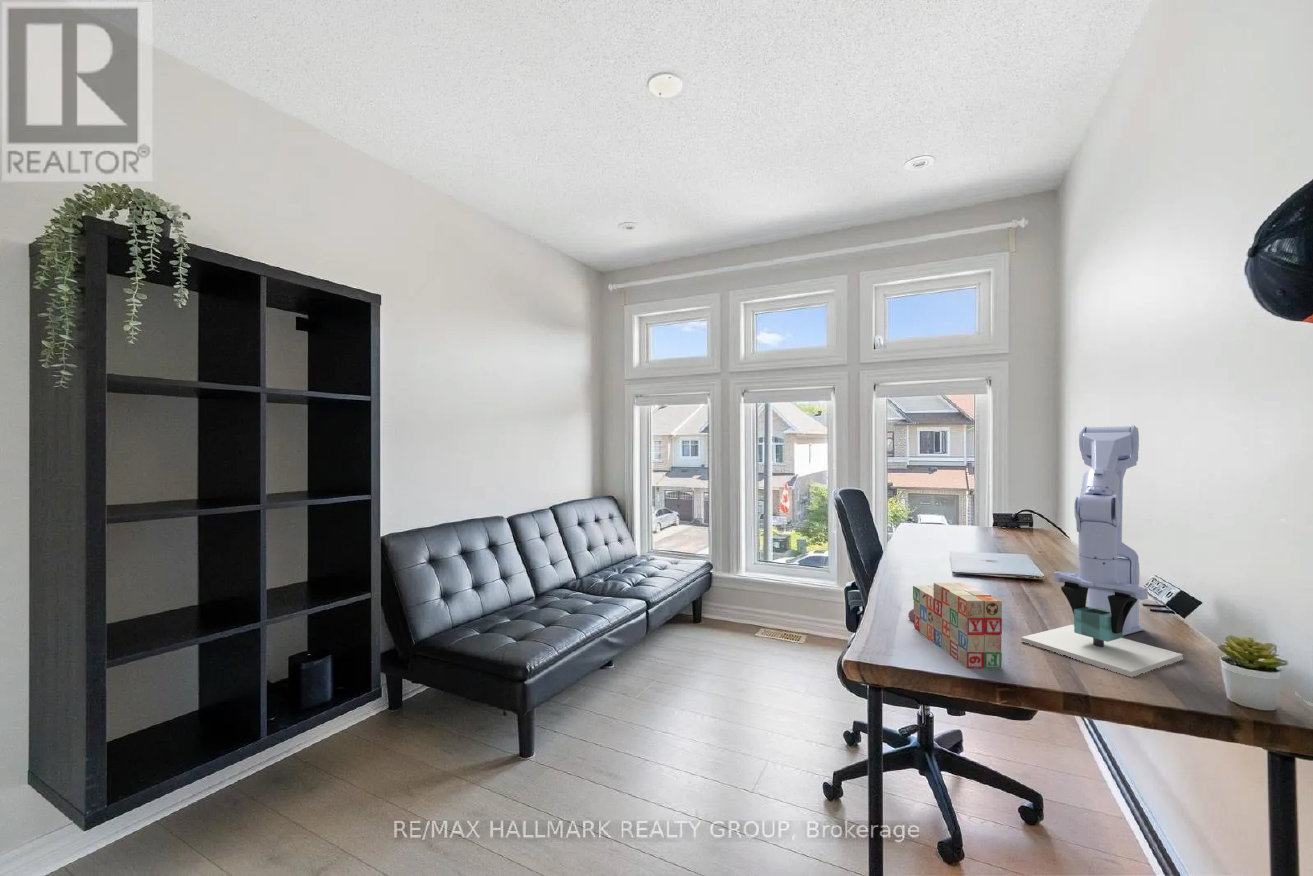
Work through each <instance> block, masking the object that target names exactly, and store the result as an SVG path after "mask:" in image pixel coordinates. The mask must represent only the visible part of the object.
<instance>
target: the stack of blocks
mask: <svg viewBox="0 0 1313 876" xmlns="http://www.w3.org/2000/svg"><path fill="white" fill-rule="evenodd" d="M912 600H913V609H914V621H913V626H914V627H915V629H916V630H917V631H918V632H920V633H921V634H922V635H924V637H926V639H928V640H930V641H931V642H932V643H934V644H935V645H937V646H938V647H939V649H942V650H945V651H944V652H945V653H947V654H948V655H949V656H951V657H952V658H953V659H954V660H956V661H957V662H959V664H961V665H962V666H964V667H965V668H966V669H997V668H1001V669H1002V668H1003V667H1002V666H1003V665H1002V663H1003V661H1002V660H1003V652H1002V641H1003V640H1002V635H1003V634H1002V633H1003V619H1002V615H1003V614H1002V613H1003V601H1002V600H1000V599H998V598H996V597H994V596H992V595H991V594H990V593H988V592H986V591H984V590H981V589H979V588H976V587H974V586H971V585H970V584H968V583H965V582H933V585H913V586H912ZM914 627H913V628H914Z"/></svg>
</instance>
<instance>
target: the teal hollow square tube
mask: <svg viewBox="0 0 1313 876" xmlns="http://www.w3.org/2000/svg"><path fill="white" fill-rule="evenodd" d="M1073 622H1074V624H1073V625H1074V633H1078V634H1081V635H1085V636H1088V637H1092V638H1095V639H1099V640H1103V641H1106V642H1108V641H1112V640H1116V639H1119V638H1124V635H1123V630H1122V632H1121V633H1118V634H1116V633H1112V627H1111V611H1109V610H1104V609H1100V608H1096V607H1092V606H1088V605H1086V607H1083V608H1078V609H1074V614H1073Z"/></svg>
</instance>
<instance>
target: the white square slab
mask: <svg viewBox="0 0 1313 876" xmlns="http://www.w3.org/2000/svg"><path fill="white" fill-rule="evenodd" d="M1021 641H1025V642H1028V643H1030V644H1032V645H1035V646H1040V647H1043V648H1045V649H1047V650H1051V651H1053V652H1052V653H1054V652H1056V653H1055V654H1057V653H1058V654H1057V655H1060V654H1061V655H1060V656H1063V655H1066V656H1068V657H1067V658H1069V657H1071V658H1070V659H1072V658H1073V659H1072V660H1075V659H1077V661H1079V660H1080V661H1079V662H1082V661H1083V662H1082V663H1085V664H1088V665H1091V664H1092V665H1091V666H1095V667H1097V668H1099V669H1100V668H1101V669H1104V668H1105V669H1104V670H1107V669H1108V670H1107V671H1110V670H1111V672H1113V673H1116V672H1117V674H1119V673H1122V674H1125V675H1128V676H1127V677H1129V676H1131V677H1130V678H1134V677H1133V676H1135V675H1138V674H1141V673H1143V674H1146V673H1148V672H1147V671H1149V672H1151V671H1150V670H1152V671H1154V670H1153V669H1155V668H1158V669H1160V667H1161V666H1164V665H1166V666H1168V665H1167V664H1169V665H1172V664H1175V663H1177V661H1178V662H1180V660H1181V661H1184V654H1183V653H1180V652H1177V651H1176V652H1175V651H1173V650H1168V649H1165V648H1161V647H1156V646H1153V645H1150V644H1147V643H1142V642H1138V641H1135V640H1132V639H1128V638H1124V637H1123V638H1119V639H1116V640H1112V641H1108V642H1106V641H1103V640H1099V639H1095V638H1092V637H1088V636H1085V635H1081V634H1078V633H1074V624H1068V625H1063V626H1059V627H1057V628H1053V629H1049V630H1044V631H1040V632H1037V633H1032V634H1028V635H1024V636H1020V642H1021ZM1032 645H1031V646H1032ZM1035 646H1034V647H1035ZM1047 650H1046V651H1047ZM1051 651H1050V652H1051ZM1066 656H1065V657H1066ZM1174 662H1175V663H1174ZM1164 667H1165V666H1164ZM1161 668H1162V667H1161ZM1155 670H1156V669H1155ZM1145 672H1146V673H1145ZM1122 674H1121V675H1122ZM1125 675H1124V676H1125ZM1141 675H1142V674H1141ZM1138 676H1139V675H1138ZM1135 677H1136V676H1135Z"/></svg>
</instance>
